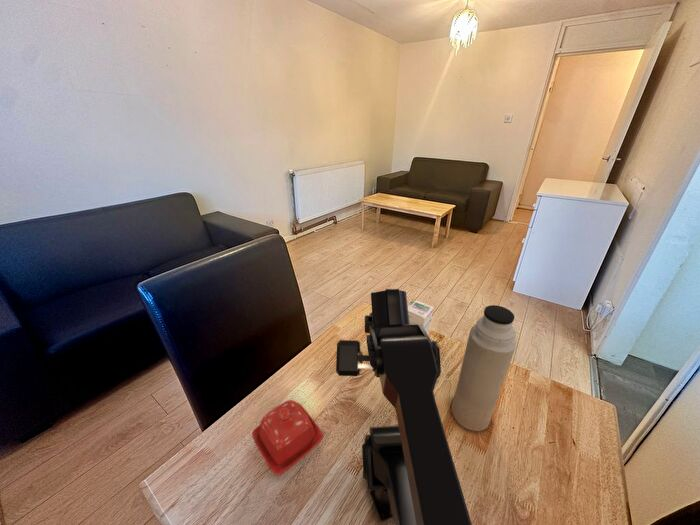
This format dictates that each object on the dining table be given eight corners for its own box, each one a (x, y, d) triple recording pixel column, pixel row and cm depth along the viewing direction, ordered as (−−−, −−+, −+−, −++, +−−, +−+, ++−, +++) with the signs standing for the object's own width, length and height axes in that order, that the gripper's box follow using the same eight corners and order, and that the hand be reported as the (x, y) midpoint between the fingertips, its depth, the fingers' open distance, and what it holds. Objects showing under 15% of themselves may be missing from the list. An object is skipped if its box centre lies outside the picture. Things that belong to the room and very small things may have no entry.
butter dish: (327, 441, 58) (325, 414, 54) (276, 483, 51) (270, 456, 48) (297, 403, 66) (294, 377, 62) (250, 435, 59) (242, 409, 55)
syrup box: (427, 349, 77) (434, 305, 71) (418, 362, 73) (424, 317, 66) (408, 340, 80) (413, 297, 74) (398, 352, 76) (402, 308, 69)
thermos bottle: (485, 401, 66) (517, 302, 54) (493, 434, 59) (532, 329, 47) (449, 395, 68) (472, 297, 55) (453, 427, 61) (480, 323, 48)
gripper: (446, 309, 48) (425, 321, 63) (335, 307, 48) (340, 319, 63) (452, 381, 44) (428, 375, 59) (333, 378, 45) (339, 373, 60)
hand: (383, 358), depth 60 cm, fingers open, 9 cm apart
